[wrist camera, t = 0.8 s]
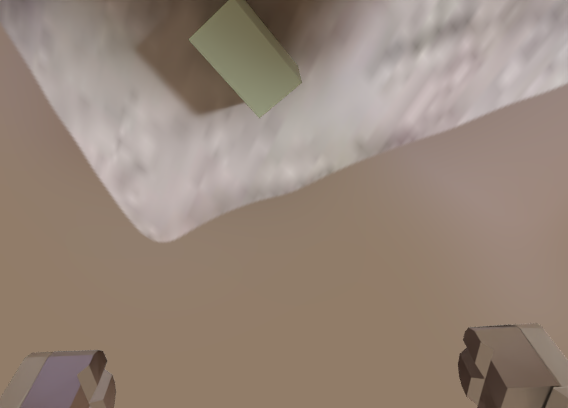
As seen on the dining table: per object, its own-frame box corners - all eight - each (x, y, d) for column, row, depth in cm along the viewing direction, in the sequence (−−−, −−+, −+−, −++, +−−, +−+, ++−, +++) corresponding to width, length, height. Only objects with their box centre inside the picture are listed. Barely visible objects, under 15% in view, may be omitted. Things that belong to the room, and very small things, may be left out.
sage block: (237, -9, 36) (232, -4, 31) (297, 65, 39) (301, 82, 34) (199, 28, 37) (188, 39, 32) (260, 97, 40) (259, 118, 35)
